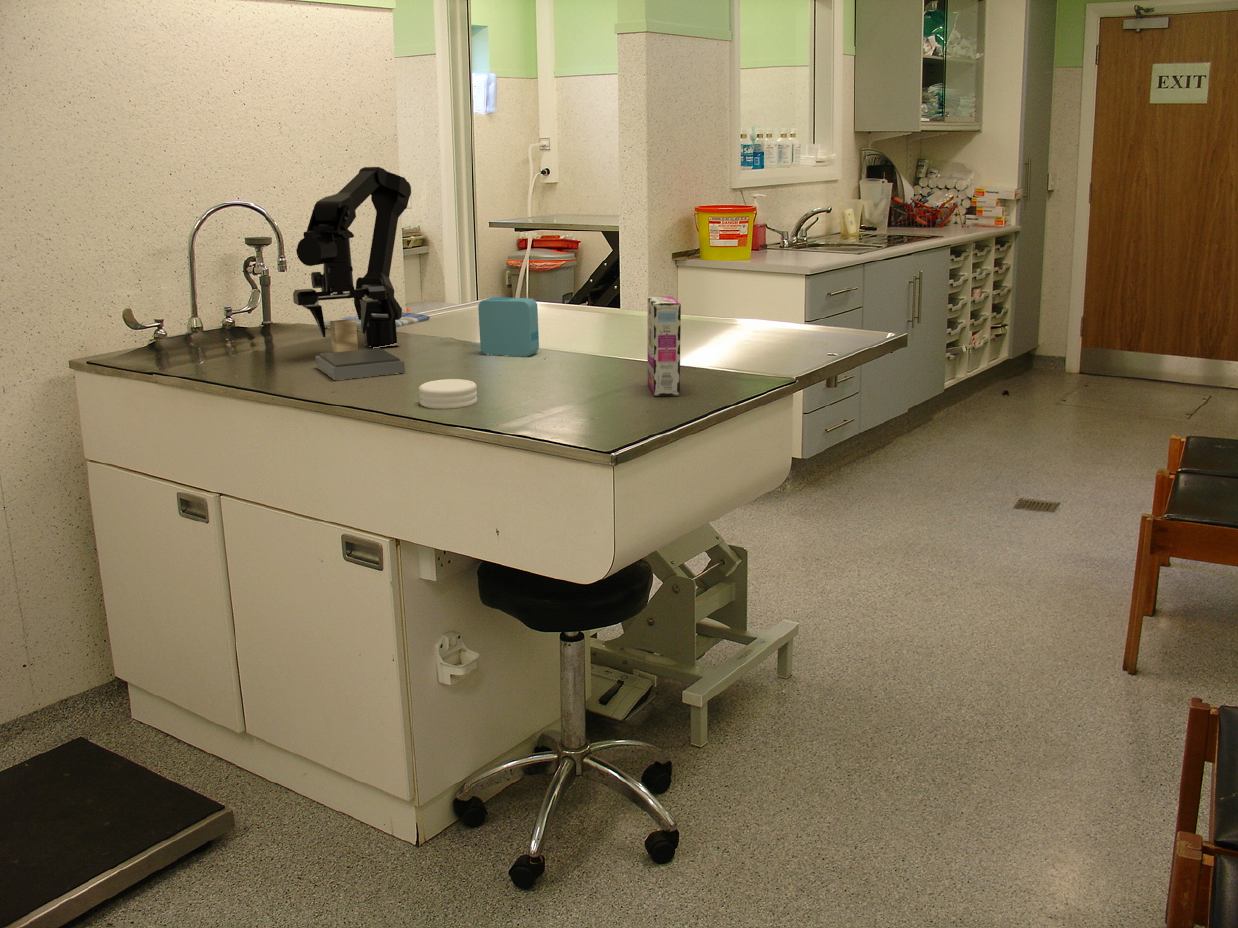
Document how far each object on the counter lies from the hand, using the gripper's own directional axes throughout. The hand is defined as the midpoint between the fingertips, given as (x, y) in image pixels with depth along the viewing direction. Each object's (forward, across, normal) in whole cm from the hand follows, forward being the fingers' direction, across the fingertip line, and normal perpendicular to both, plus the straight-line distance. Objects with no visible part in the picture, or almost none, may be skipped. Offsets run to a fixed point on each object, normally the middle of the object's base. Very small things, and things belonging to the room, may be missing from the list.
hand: (343, 335), depth 232 cm
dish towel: (+6, -19, -46) cm, 50 cm away
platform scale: (+5, +1, +16) cm, 17 cm away
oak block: (+5, 0, 0) cm, 5 cm away
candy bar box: (+5, -42, +65) cm, 78 cm away
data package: (+5, -32, +15) cm, 36 cm away
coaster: (+6, -5, +54) cm, 55 cm away
